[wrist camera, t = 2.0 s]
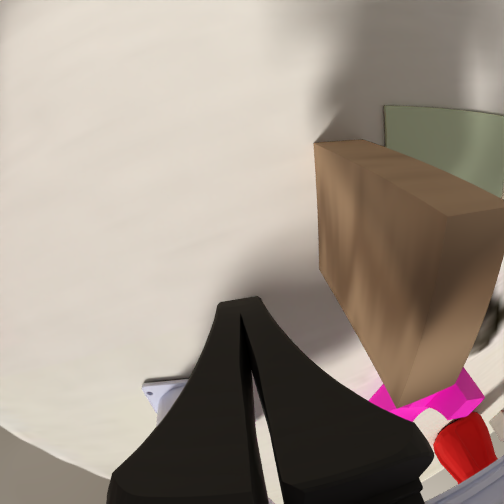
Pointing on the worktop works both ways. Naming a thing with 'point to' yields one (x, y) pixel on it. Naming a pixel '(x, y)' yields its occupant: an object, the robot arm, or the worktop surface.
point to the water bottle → (465, 447)
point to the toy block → (437, 400)
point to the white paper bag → (498, 425)
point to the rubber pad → (450, 142)
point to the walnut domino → (407, 260)
